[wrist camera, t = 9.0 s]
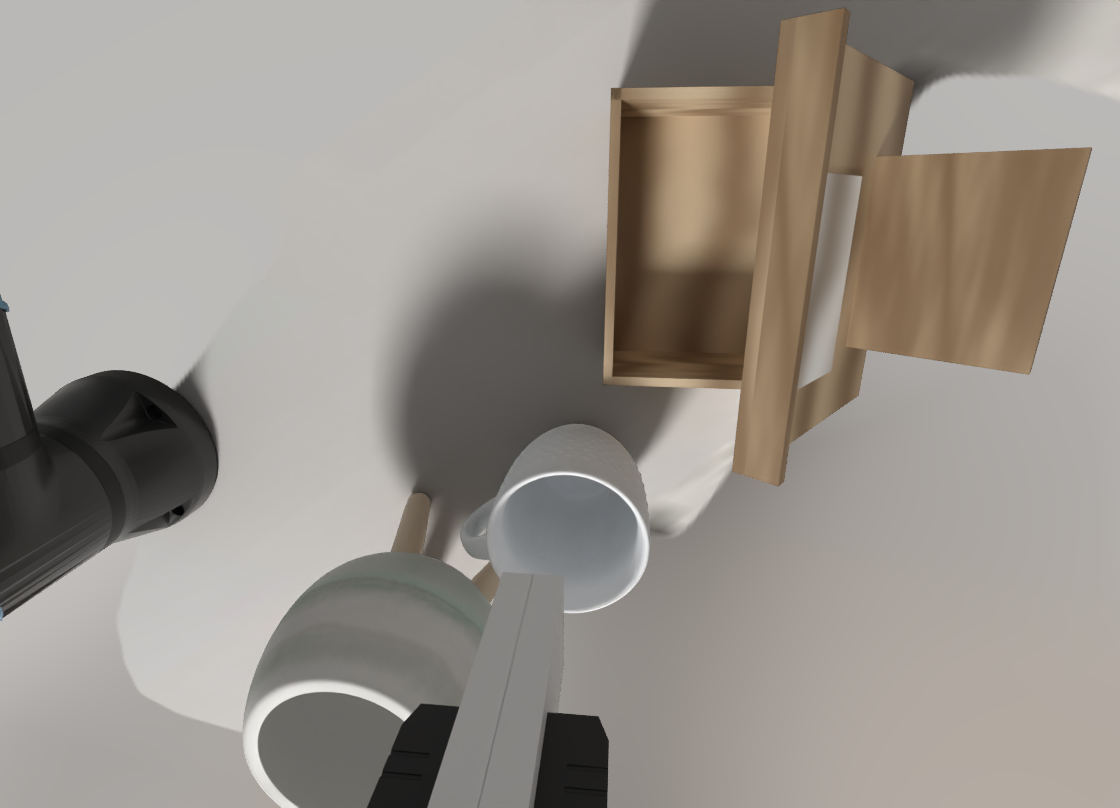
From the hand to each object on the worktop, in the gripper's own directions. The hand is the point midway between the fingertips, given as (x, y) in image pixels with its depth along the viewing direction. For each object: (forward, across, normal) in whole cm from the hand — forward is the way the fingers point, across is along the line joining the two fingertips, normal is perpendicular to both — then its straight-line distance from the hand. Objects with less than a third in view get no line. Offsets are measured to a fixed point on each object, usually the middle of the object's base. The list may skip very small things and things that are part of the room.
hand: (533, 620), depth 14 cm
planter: (+35, -13, -21) cm, 43 cm away
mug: (+35, -2, -12) cm, 37 cm away
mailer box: (+34, +9, +7) cm, 36 cm away
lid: (+20, +12, +7) cm, 24 cm away
